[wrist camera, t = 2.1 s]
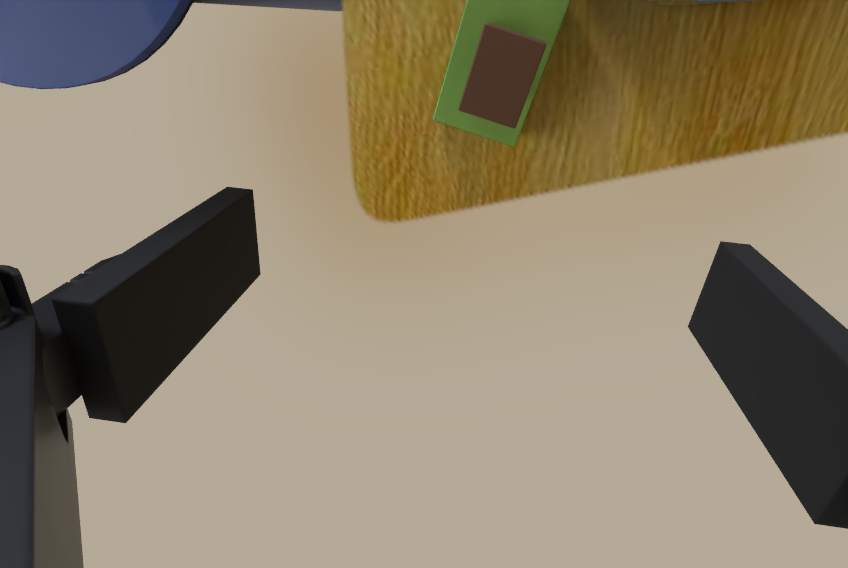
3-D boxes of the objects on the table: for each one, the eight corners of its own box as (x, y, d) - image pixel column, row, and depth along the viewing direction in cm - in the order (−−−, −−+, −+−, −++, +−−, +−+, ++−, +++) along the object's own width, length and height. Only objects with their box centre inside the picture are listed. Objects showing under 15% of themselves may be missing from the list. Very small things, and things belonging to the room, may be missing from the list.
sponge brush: (512, 136, 31) (524, 195, 21) (436, 112, 31) (409, 158, 21) (565, -5, 28) (611, -20, 17) (479, -34, 28) (472, -68, 17)
